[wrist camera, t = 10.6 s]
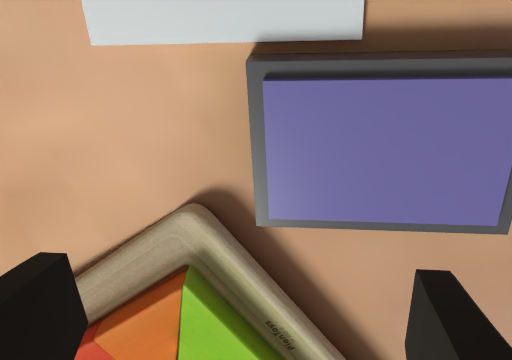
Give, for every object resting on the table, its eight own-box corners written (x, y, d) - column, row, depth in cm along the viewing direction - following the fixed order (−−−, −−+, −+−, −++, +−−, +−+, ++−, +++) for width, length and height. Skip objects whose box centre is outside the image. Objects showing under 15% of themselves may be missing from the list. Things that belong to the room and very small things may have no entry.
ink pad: (542, 48, 16) (558, 59, 15) (499, 220, 19) (510, 239, 18) (249, 54, 17) (244, 64, 16) (259, 212, 20) (255, 230, 19)
